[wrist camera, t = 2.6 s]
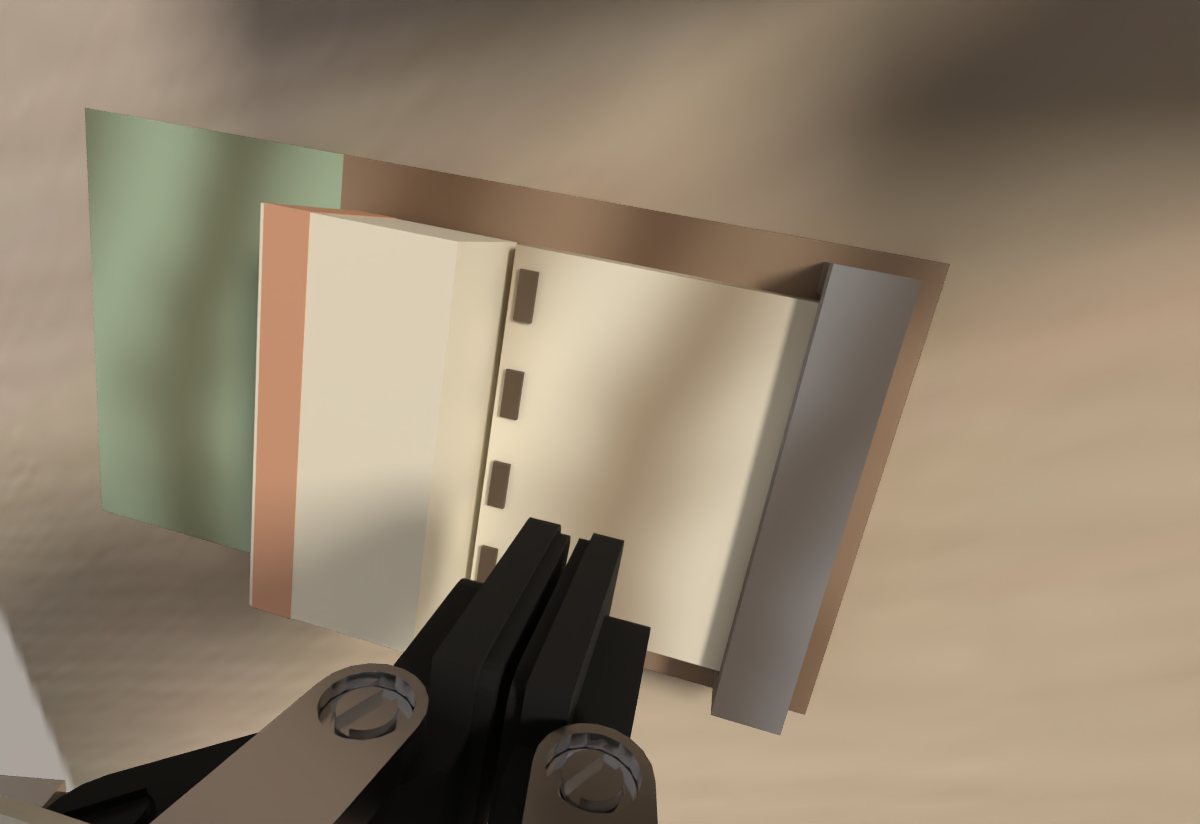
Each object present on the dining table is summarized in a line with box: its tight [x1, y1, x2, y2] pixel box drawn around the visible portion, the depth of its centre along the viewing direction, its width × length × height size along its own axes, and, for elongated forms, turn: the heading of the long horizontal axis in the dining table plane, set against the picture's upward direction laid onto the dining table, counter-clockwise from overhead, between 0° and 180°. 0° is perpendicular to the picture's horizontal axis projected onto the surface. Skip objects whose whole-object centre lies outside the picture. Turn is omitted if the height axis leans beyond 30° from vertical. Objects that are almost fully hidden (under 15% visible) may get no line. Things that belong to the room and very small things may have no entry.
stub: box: [249, 203, 517, 652], centre depth 18 cm, size 5×11×4 cm, turn 170°
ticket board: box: [85, 108, 950, 735], centre depth 20 cm, size 26×14×3 cm, turn 80°
